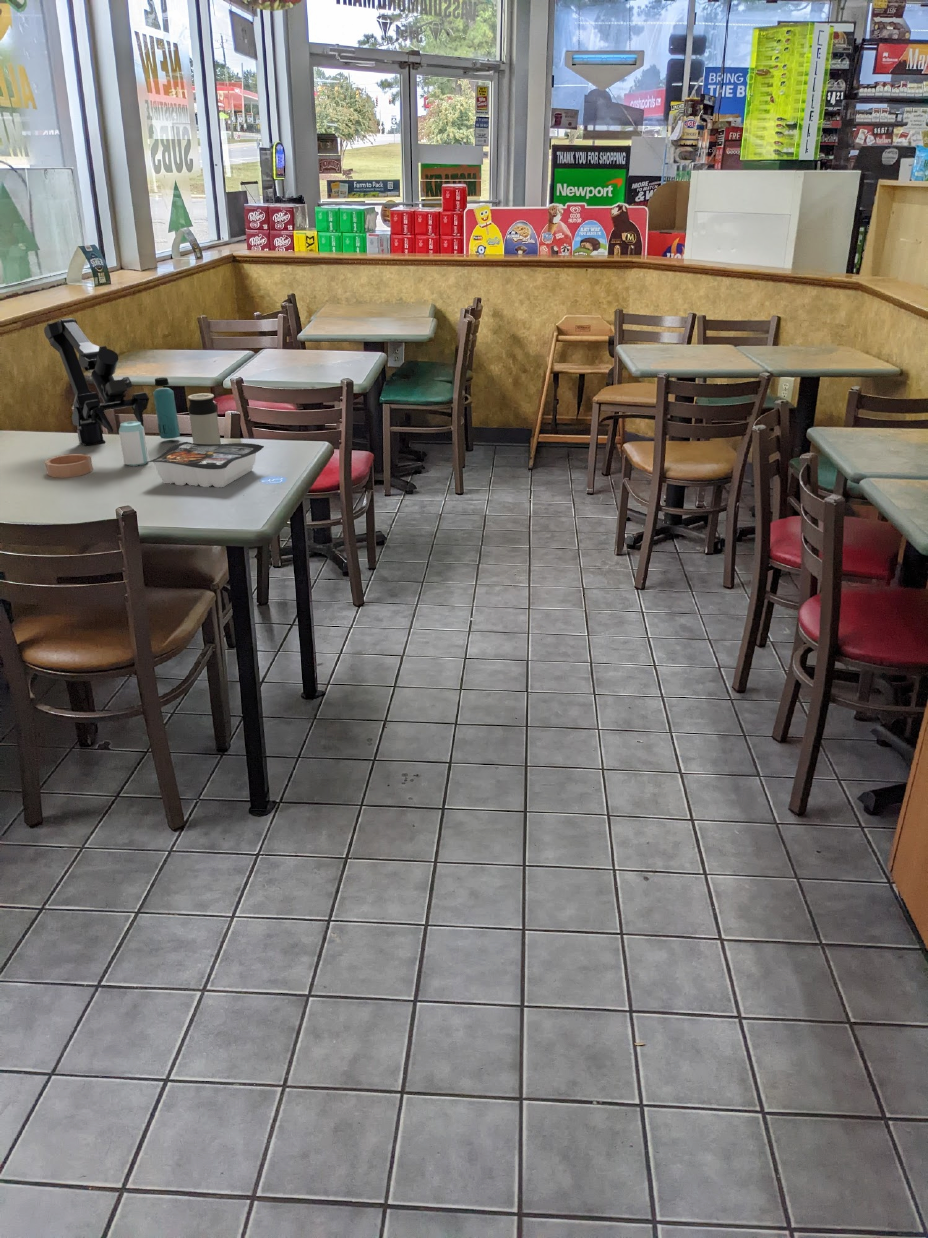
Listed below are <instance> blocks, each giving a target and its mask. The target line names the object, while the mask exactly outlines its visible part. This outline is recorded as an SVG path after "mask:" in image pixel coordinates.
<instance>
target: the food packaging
mask: <svg viewBox="0 0 928 1238" xmlns="http://www.w3.org/2000/svg"><path fill="white" fill-rule="evenodd" d="M264 447H265V446H264V445H261V444H256V443H249V442H248V443H247V442H246V443H245V442H244V443H243V442H236V443H235V442H234V443H233V442H232V443H221V444H195V443H193V442H190V441H189V442H188V441H182V442H179V443H176V444H174V445H172V446H170V447H169V448H168V449H166V450H165V451H164V452H163V453H161V454H160V455H159V456H157V457H156V458H153V459H151V460H149V461H148V462H147V463H153V464H154V467H155V469H156V472H157V474H158V476H159V477H160V479H161V481H162V483H164V484H165V483H170V484H169V485H172V484H171V483H173V484H175V485H176V486H185V485H189V486H191V485H195V486H194V487H197V486H200V487H201V486H203V487H202V488H210V487H212V486H214V487H215V488H219V487H223V488H224V487H226V486H228V485H229V484H232V483H233V482H234V480H235V481H237V480H238V479H239V478H241V477H243V476H245V475H246V474H249V473H250V472H251V471H252V470H253V469H254V465H255V463H256V456H257V455H256V454H257V453H258V452H260V451H261V450H263V448H264ZM144 463H145V462H144ZM186 483H187V484H186ZM209 486H210V487H209Z"/></svg>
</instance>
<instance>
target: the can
mask: <svg viewBox="0 0 928 1238" xmlns="http://www.w3.org/2000/svg"><path fill="white" fill-rule="evenodd" d="M145 433H146V432H145V428H144V426H142V425H141V422H138V421H137V420H136V421H135V420H133V421H132V420H131V421H124V422H121V423H119V429H118V434H119V435H118V436H119V441H120V447H121V452H122V458H123V463H124V464H125V465H127V466H129V467H138V465H140V466H143V465H146V464H147V463H149V462H148V461H150V458H149V453H148V446H147V440H146V434H145ZM144 462H145V463H144Z"/></svg>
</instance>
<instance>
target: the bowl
mask: <svg viewBox="0 0 928 1238" xmlns="http://www.w3.org/2000/svg"><path fill="white" fill-rule="evenodd" d="M44 463H45V468H46V469H45V470H46V473H47V475H48V476H50V477H52V478H53V477H54V478H58V479H60V478H62V479H63V478H73V477H77V476H83V475H86V474H88V473H91V472H92V471H93V469H94V466H93V462H92V457H91V456H90V455H88V454H82V453H74V454H71V453H70V454H63V455H58V456H54V457H51V458H48V459H47V460H46V461H45V462H44Z"/></svg>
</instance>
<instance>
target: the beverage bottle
mask: <svg viewBox="0 0 928 1238" xmlns="http://www.w3.org/2000/svg"><path fill="white" fill-rule="evenodd" d="M169 385H170V383H169V378H167V377H163V376H162V377H157V378H155V379H154V386H155V387H160V388H156V389H155V390H154V391H153V393H152V395H153V400H154V407H155V412H156V413H155V414H156V418H157V419H156V421H157V428H158V429H157V430H158V434H159V437H160V438H161V439H163V440H169V439H176V438H179V437H180V436H181V433H180V432H181V431H180V427H179V419H178V413H177V407H176V400H175V395H174V392H175V391H174V390H172V389H171V388H169V387H165V386H169Z"/></svg>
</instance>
